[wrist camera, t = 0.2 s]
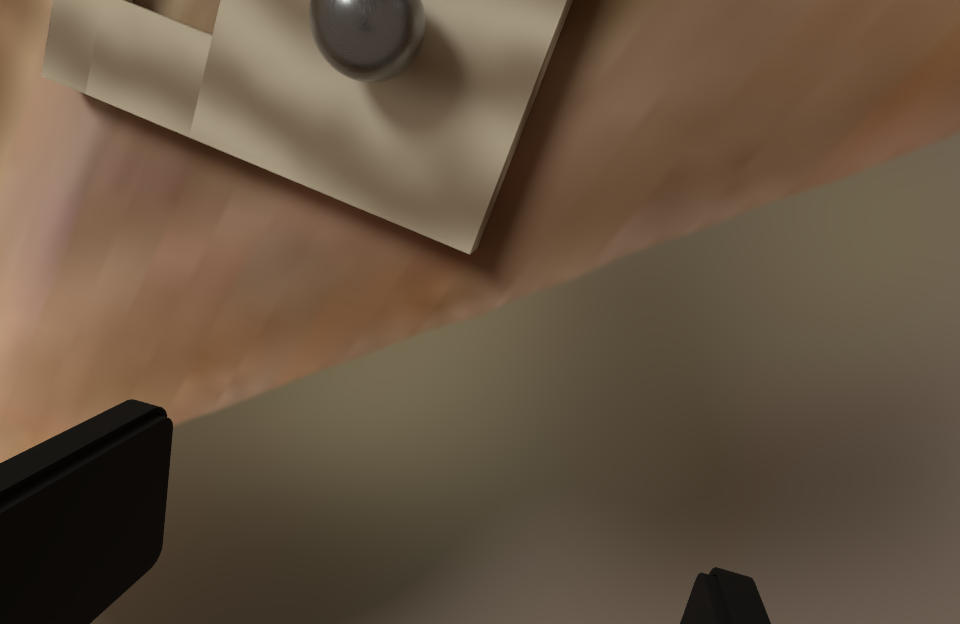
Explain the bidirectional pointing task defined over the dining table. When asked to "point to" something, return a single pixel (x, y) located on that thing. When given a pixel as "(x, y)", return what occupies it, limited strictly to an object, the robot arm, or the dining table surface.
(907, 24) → the dining table surface
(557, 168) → the dining table surface
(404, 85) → the runway board
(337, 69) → the ball
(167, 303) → the dining table surface
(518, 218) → the dining table surface
